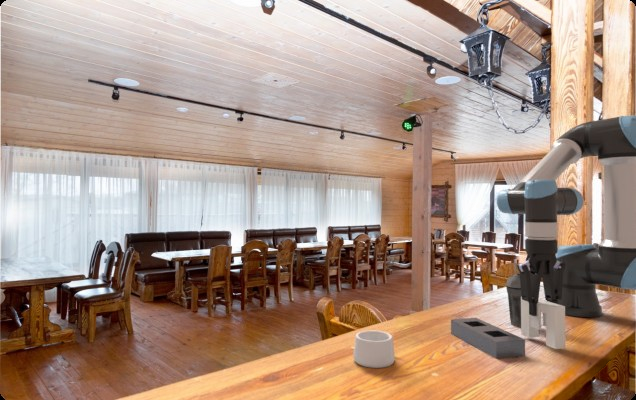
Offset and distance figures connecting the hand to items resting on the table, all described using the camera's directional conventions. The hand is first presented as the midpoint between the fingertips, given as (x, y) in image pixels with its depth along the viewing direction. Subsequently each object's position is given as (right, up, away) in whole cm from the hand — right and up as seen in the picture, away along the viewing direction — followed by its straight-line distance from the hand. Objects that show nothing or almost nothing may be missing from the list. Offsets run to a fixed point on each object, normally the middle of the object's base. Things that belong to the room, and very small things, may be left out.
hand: (542, 327), depth 109 cm
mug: (-45, -5, -11) cm, 47 cm away
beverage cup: (+3, -5, +18) cm, 19 cm away
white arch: (0, -4, 0) cm, 4 cm away
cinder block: (-15, -5, 0) cm, 16 cm away
